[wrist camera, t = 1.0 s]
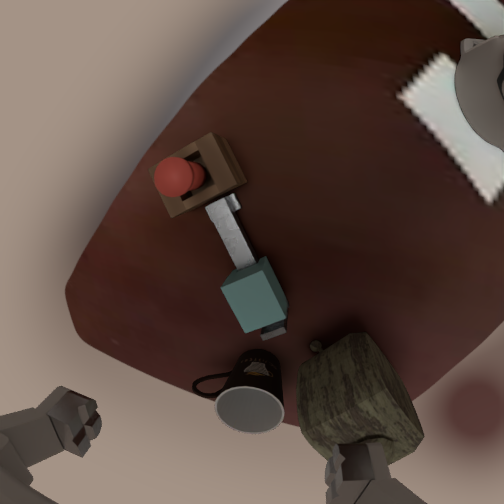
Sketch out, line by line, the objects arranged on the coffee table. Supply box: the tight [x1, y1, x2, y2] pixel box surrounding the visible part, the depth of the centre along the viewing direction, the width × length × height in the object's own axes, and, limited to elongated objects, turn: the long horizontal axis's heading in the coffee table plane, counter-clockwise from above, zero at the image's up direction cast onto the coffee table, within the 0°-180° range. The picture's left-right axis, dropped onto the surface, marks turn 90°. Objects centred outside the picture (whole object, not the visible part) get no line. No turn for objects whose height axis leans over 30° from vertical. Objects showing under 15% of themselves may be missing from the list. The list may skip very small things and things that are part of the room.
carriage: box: [221, 256, 287, 333], centre depth 36 cm, size 5×6×6 cm
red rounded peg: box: [154, 157, 206, 197], centre depth 29 cm, size 4×4×6 cm
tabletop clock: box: [296, 332, 424, 465], centre depth 29 cm, size 14×9×25 cm, turn 41°
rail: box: [205, 193, 289, 341], centre depth 36 cm, size 4×17×6 cm, turn 26°
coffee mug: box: [192, 349, 284, 434], centre depth 39 cm, size 12×9×10 cm
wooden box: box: [148, 132, 247, 218], centre depth 34 cm, size 8×6×7 cm
